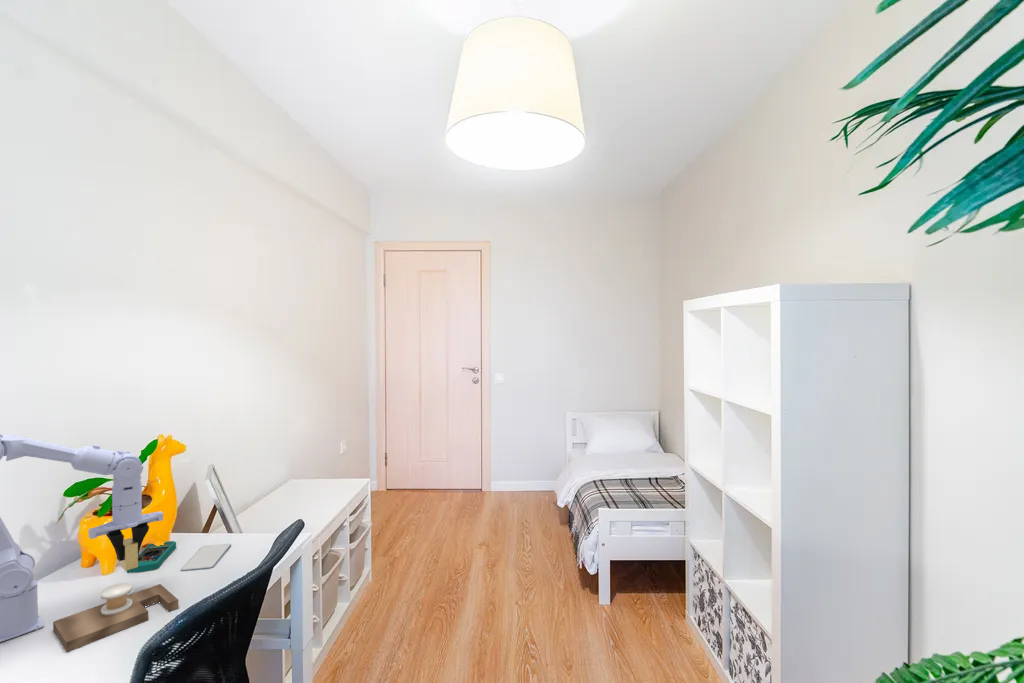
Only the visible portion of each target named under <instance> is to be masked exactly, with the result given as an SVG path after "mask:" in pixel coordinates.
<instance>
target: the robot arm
mask: <svg viewBox="0 0 1024 683" xmlns="http://www.w3.org/2000/svg"><path fill="white" fill-rule="evenodd" d="M3 457H5V458H6V459H5V461H6V462H8V461H12V460H16V459H20V458H24V457H30V458H36V459H42V460H48V461H54V462H55V461H57V462H62V463H70V465H71V466H72V469H73V470H75V471H81V472H86V473H91V474H96V475H102V476H108V475H109V476H111V475H112V478H113V480H112V481H113V484H112V487H111V491H112V492H111V494H112V495H111V498H112V499H111V500H112V504H111V505H112V506H111V508H112V509H111V510H112V521H109V522H107V523H104V524H101V525H98V526H95V527H92V528H89V529H88V538H89V539H91V540H93V539H96V538H97V537H101V536H105V535H106V537H107V538H108V540H109V541H110V543H111V544H112V547H113V549H114V552H115V554H116V559H117V561H118V562H119V561H122V560H123V540H124V538H125V535H124V534H123V532H122V531H123V530H128V529H131V536H132V537H131V538H132V539H133V540H135V541H136V542H137V543H138V556H139V554H140V552H141V551H140V550H141V548H142V544H143V541H144V539H145V538H146V535H147V533H148V532H149V530H150V526H149V524H150V523H154V522H161V521H164V512H162V511H161V510H159V511H155V512H151V513H143V511H142V510H143V508H142V506H143V503H142V501H143V500H142V498H143V495H142V494H143V493H142V490H143V489H142V485H143V484H142V480H141V478H142V475H141V474H142V472H144V465H143V463H142V460H140V458H139V456H138V455H136V454H134V453H131V452H130V451H123V450H120V449H119V450H117V451H115V450H109V449H105V448H101V445H99V444H95V443H93V444H92V445H84V446H82V447H79V448H73V447H69V446H64V445H60V444H56V443H52V442H47V441H44V440H40V439H36V438H31V437H26V436H21V435H17V434H16V435H15V434H11V433H10V434H8V433H3V434H2V433H0V461H2V458H3ZM35 566H36V561H35V558H34V557H33V556H32V555H31V554H29V553H27V552H25V551H23V549H22V548H21V546H20V545H19V544H17V543H16V542H15V540H14V538H13V537H12V535H11V533H10V532H9V529H8V528H7V526H6V524H5V522H4V521H3V519H2V518H1V516H0V643H2V642H5V641H8V640H10V639H13V638H17V637H20V636H22V635H25V634H28V633H30V632H34V631H36V630H38V629H41V628H43V627H44V623H43V621H42V619H41V618H40V616H39V611H38V610H39V602H38V596H39V595H38V581H37V580H36V579H34V576H35V575H34V568H35Z"/></svg>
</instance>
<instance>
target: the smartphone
mask: <svg viewBox="0 0 1024 683" xmlns="http://www.w3.org/2000/svg"><path fill="white" fill-rule="evenodd" d="M231 547H232V544H231V543H222V544H212V545H203V546H201V547H200V548H199V549H198V551H197V552H195V554H194V555H192V556H191V558H190V559H189V560H188V561H187V562H186V563H185V564H184V565H183V567H182V568H180V572H188V571H189V570H191V571H196V570H197V571H199V570H200V571H201V570H211V569H214V568H215V567H216V565H217V564H218V563H219V562H220V561H221V559H222V558H223V557H224V556H225V555H226V554H227V552H228V551H229V549H231Z"/></svg>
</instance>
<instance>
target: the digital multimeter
mask: <svg viewBox="0 0 1024 683" xmlns="http://www.w3.org/2000/svg"><path fill="white" fill-rule="evenodd" d="M164 542H165V543H164V545H160V546H156V545H154V544H151V543H149V544H147V546H146V547H145V548H144V549H143V550H142V551H140V552H139V556H138V567H136V568H133V569H130V570H127V571H126V573H128V574H129V573H130V572H131V573H130V574H133V573H134V572H135V573H142V572H145V573H146V572H150V571H155V570H158V569H159V568H160V567H161V566H162V564H163V563H164V561H165V560H166V559H167V558H168V557H169V556H170V555H171V554H172V553H173V552H174V551H175V550H176V548H177V542H176V541H174V540H167V541H164ZM135 573H134V574H135Z"/></svg>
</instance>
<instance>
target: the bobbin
mask: <svg viewBox="0 0 1024 683" xmlns="http://www.w3.org/2000/svg"><path fill="white" fill-rule="evenodd" d="M132 590H133V585H132V583H129V582H123V583H116V584H114V585H110V586H108V587H106V588H104V589H102V591H101V592H100V599H102V600H106V603H107V604H106V605H104V606H103V607H102V608H101V614H102V615H104V616H110V615H115V614H119V613H122V612H124V611H126V610H128V609H129V608H130V607H131V606H132V600H131V599H127V594H128V595H129V593H131V592H132Z"/></svg>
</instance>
